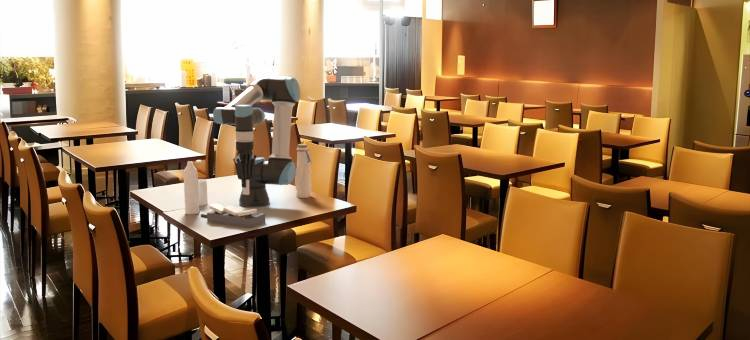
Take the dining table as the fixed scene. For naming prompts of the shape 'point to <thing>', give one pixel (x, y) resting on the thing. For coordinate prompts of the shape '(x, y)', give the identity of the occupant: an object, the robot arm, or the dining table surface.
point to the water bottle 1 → (191, 188)
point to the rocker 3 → (247, 212)
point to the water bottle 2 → (303, 172)
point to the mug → (202, 192)
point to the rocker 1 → (217, 208)
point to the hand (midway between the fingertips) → (245, 194)
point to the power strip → (236, 219)
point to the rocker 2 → (232, 210)
